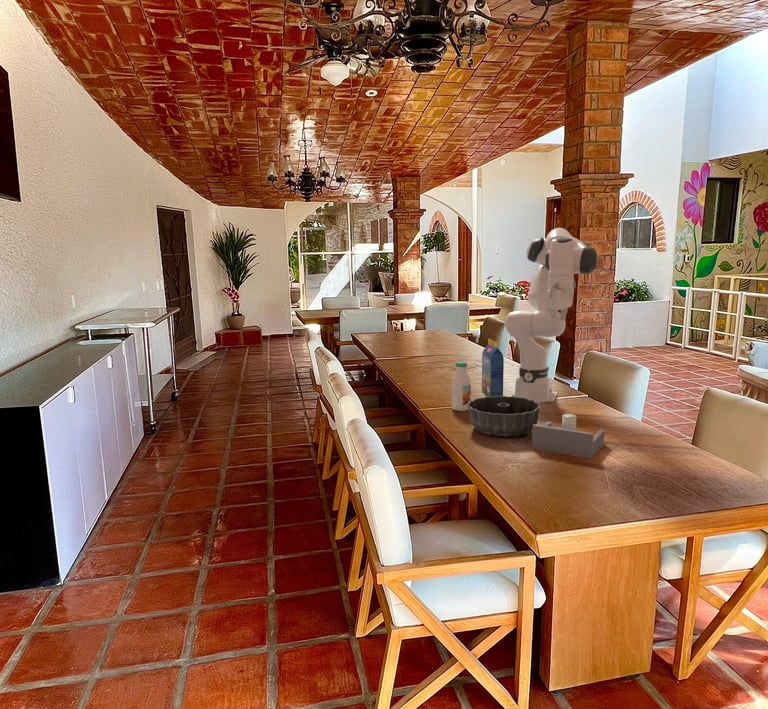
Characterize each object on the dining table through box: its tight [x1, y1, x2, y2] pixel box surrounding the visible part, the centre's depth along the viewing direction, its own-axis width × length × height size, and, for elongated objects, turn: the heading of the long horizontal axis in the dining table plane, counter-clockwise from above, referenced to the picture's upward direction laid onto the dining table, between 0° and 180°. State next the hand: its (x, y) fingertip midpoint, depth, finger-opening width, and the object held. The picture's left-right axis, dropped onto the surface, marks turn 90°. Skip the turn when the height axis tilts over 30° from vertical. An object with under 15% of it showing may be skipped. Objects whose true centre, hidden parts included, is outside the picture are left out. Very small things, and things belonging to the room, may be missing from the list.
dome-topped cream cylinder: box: [561, 413, 577, 431], centre depth 187 cm, size 4×4×8 cm
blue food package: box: [481, 338, 505, 397], centre depth 257 cm, size 6×12×25 cm, turn 9°
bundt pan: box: [467, 395, 542, 438], centre depth 206 cm, size 26×26×10 cm
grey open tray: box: [531, 421, 605, 460], centre depth 187 cm, size 16×19×8 cm
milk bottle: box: [451, 360, 472, 412], centre depth 233 cm, size 8×8×20 cm
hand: (558, 321), depth 206 cm, fingers open, 8 cm apart
